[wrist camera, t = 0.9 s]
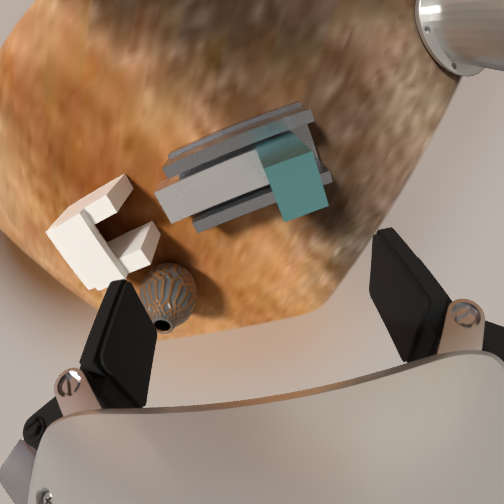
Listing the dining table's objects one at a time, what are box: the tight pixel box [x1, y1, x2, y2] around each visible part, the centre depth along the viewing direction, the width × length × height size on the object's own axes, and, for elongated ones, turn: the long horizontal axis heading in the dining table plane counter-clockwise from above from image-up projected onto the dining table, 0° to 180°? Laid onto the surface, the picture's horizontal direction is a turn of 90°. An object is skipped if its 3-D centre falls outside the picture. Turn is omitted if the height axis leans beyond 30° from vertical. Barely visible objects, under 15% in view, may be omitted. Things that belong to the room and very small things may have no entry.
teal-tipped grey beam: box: [154, 130, 329, 224], centre depth 25 cm, size 14×4×10 cm, turn 111°
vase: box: [139, 263, 197, 333], centre depth 34 cm, size 7×7×9 cm
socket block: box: [46, 174, 161, 291], centre depth 30 cm, size 9×8×7 cm
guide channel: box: [163, 101, 333, 233], centre depth 28 cm, size 14×8×4 cm, turn 111°
